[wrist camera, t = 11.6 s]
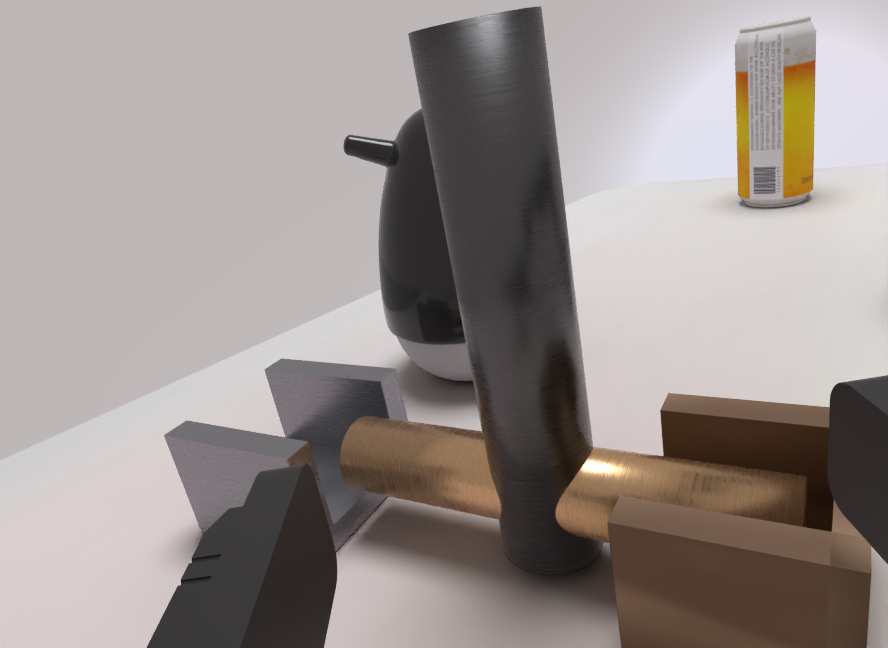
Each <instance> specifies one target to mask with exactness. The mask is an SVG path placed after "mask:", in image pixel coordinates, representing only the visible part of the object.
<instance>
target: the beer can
mask: <svg viewBox="0 0 888 648" xmlns="http://www.w3.org/2000/svg"><path fill="white" fill-rule="evenodd" d="M815 56H816V30H815V28H814V26H813V24H812V22H811V17H802V18H795V19H789V20H783V21H777V22H771V23H766V24H761V25H756V26H751V27H747V28H743V29H740V34H739V36H738V39H737V41H736V43H735V70H736V113H737V114H736V115H737V160H738V161H737V162H738V195H739V196H740V197H741V198H742V199H743V200H744V201H745V204H746V205H749V206H753V207H782V206H788V205H793V204H797V203H800V202H802V201H804V200H805V199H806V196H807V195H808V194H809V193H810V192H811V191H812V190H813V160H814V110H815V58H816V57H815Z"/></svg>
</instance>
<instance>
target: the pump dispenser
mask: <svg viewBox="0 0 888 648" xmlns="http://www.w3.org/2000/svg"><path fill="white" fill-rule="evenodd" d="M344 151H345V153H346V154H347V155H350V156H355V157H358V158H360V159H363V160H366V161H370V162H373V163H376V164H380V165H383V166H386V168H387V171H386V177H385V183H384V188H383V194H382V201H381V209H380V223H379V269H380V282H381V293H382V302H383V308H384V313H385V318H386V322H387V325H388V328H389V330H390V331H391V332H392V333H393V334H394V335H396V336H397V338H398V340H399V342H400V344H401V346H402V347H403V349H404V350H405V352H406V353H407V354H408V356H409V357H410V358H411V359H412V360H413V361H414V362H415V363H416V364H417V365H418V366H420V367H421V368H422V369H424V370H426V371H427V372H429V373H431V374H433V375H435V376H438V377H441V378H445V379H449V380H456V381H473V379H472V373H471V368H470V363H469V357H468V352H467V347H466V341H465V336H464V330H463V325H462V320H461V314H460V309H459V304H458V298H457V293H456V288H455V282H454V277H453V272H452V266H451V261H450V255H449V250H448V245H447V239H446V234H445V229H444V223H443V218H442V213H441V207H440V202H439V196H438V191H437V186H436V180H435V175H434V170H433V164H432V159H431V154H430V148H429V143H428V138H427V132H426V127H425V121H424V116H423V111H422V108H421V109H420V110H418V111H417V112H415V113H414V114H413V115H411V116H410V117H409V118H408V119H407V120H406V121H405V123H404V124H403V126H402V127H401V129H400V131H399V133H398V135H397V137H396V139H395V140H394V141H389V140H382V139H375V138H368V137H361V136H354V135H348V136H347V137H346V138H345V141H344Z"/></svg>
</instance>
